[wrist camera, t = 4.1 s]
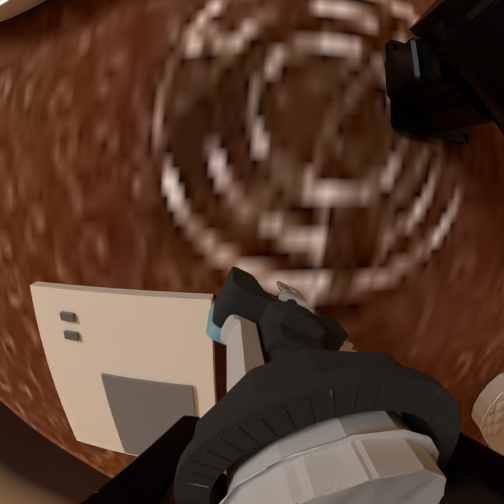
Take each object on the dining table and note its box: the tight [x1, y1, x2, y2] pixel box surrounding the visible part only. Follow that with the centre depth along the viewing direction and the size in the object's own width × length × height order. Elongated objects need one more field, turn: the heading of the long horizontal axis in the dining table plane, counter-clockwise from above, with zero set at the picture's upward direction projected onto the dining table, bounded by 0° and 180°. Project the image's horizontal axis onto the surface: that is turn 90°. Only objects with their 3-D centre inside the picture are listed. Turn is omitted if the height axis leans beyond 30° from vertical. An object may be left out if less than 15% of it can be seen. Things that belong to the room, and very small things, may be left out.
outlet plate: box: [30, 281, 217, 456], centre depth 20 cm, size 14×16×1 cm
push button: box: [174, 267, 461, 504], centre depth 8 cm, size 7×5×10 cm
